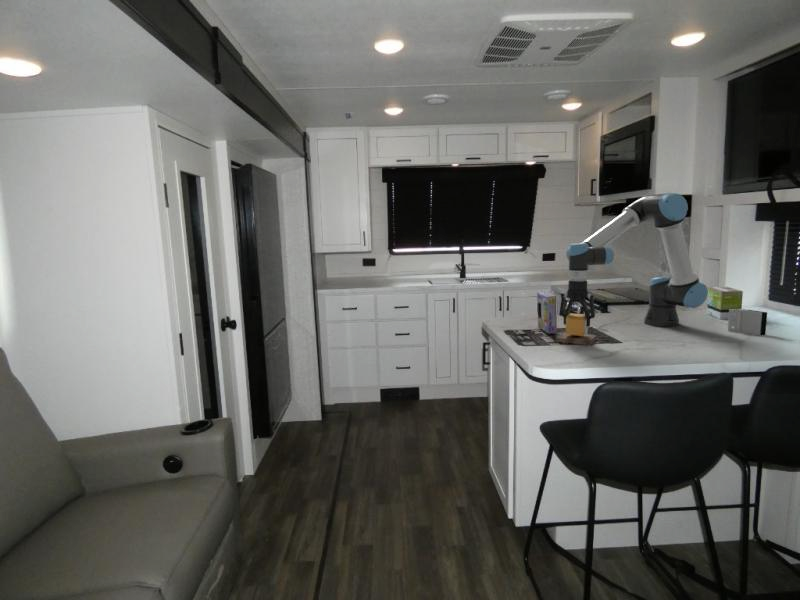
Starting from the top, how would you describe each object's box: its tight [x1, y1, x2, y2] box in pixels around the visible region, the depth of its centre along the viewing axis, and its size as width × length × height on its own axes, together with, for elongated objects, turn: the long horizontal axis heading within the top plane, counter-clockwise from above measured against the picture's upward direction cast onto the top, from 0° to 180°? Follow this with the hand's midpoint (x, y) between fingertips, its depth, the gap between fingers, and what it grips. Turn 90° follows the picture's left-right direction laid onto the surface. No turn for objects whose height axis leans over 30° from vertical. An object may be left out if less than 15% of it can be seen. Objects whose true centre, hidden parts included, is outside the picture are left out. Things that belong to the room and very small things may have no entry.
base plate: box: [555, 331, 597, 346], centre depth 212 cm, size 14×12×2 cm
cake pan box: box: [536, 290, 558, 334], centre depth 234 cm, size 19×5×18 cm, turn 178°
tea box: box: [706, 286, 744, 320], centre depth 253 cm, size 15×10×15 cm
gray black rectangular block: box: [727, 308, 768, 336], centre depth 218 cm, size 14×5×10 cm, turn 37°
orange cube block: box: [565, 312, 586, 336], centre depth 211 cm, size 7×7×8 cm
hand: (576, 332), depth 212 cm, fingers closed on orange cube block, 7 cm apart
